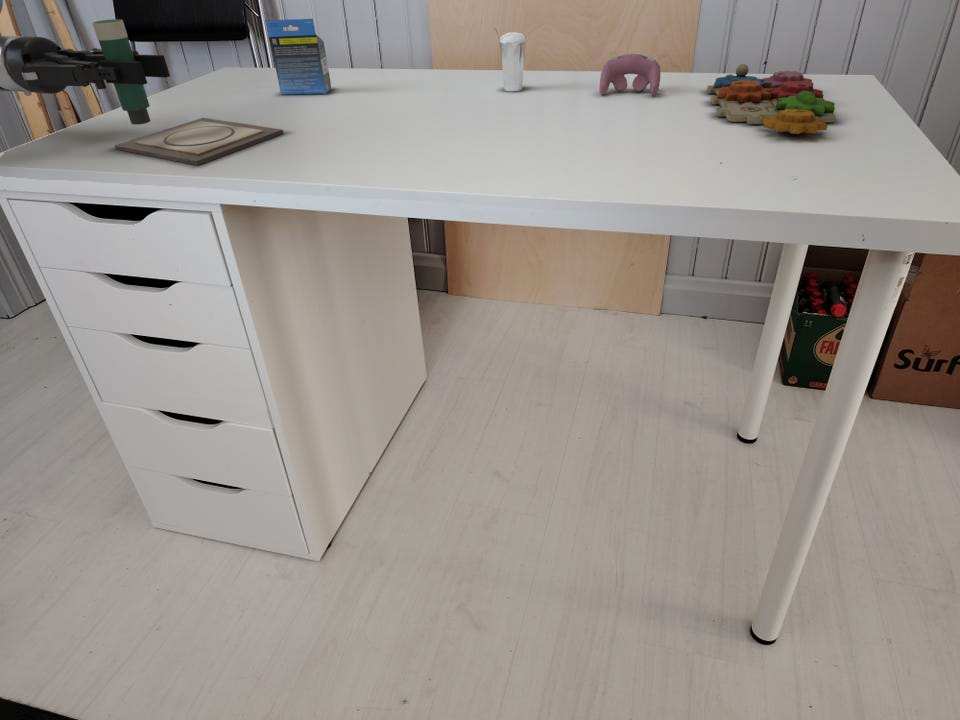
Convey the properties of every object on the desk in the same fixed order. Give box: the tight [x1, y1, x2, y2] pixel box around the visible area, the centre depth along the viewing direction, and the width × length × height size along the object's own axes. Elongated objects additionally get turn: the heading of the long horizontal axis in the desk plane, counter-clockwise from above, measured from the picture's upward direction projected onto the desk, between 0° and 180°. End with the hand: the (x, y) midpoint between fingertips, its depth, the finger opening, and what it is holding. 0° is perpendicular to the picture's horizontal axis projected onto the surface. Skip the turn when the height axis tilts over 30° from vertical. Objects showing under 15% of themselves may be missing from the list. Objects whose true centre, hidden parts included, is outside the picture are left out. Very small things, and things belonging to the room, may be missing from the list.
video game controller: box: [599, 53, 661, 97], centre depth 108 cm, size 10×5×7 cm, turn 74°
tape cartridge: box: [264, 18, 332, 96], centre depth 116 cm, size 9×4×12 cm, turn 84°
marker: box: [91, 18, 151, 126], centre depth 89 cm, size 4×4×13 cm
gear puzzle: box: [706, 63, 836, 135], centre depth 95 cm, size 31×16×4 cm, turn 169°
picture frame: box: [114, 117, 284, 166], centre depth 96 cm, size 18×16×1 cm
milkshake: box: [494, 27, 527, 92], centre depth 112 cm, size 4×5×10 cm
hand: (153, 69), depth 87 cm, fingers closed on marker, 3 cm apart
